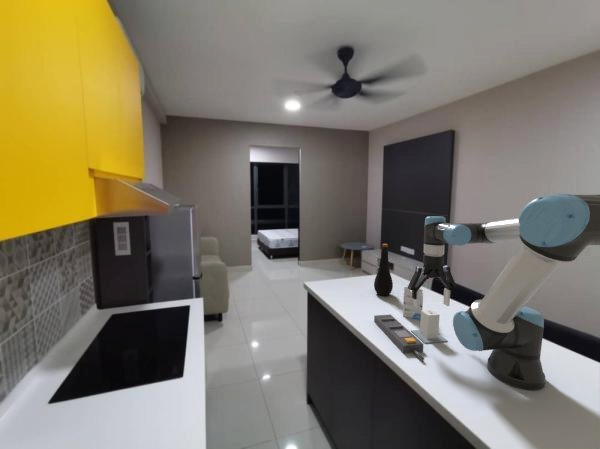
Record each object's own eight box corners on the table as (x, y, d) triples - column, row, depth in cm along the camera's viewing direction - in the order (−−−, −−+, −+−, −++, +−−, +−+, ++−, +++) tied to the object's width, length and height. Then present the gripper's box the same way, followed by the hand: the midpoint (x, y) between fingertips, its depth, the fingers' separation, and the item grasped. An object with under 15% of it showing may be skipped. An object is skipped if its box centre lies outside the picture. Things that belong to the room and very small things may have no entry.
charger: (438, 338, 115) (439, 313, 114) (426, 338, 114) (428, 314, 113) (430, 332, 120) (432, 308, 119) (419, 332, 119) (421, 309, 118)
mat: (447, 341, 113) (447, 340, 113) (424, 343, 111) (424, 342, 111) (432, 329, 123) (432, 328, 123) (411, 331, 121) (411, 330, 121)
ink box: (422, 316, 136) (424, 286, 135) (421, 320, 132) (423, 289, 130) (403, 312, 140) (405, 283, 139) (402, 316, 136) (403, 286, 134)
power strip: (432, 360, 100) (433, 350, 99) (412, 362, 98) (412, 352, 98) (390, 320, 131) (390, 312, 131) (374, 321, 130) (374, 313, 129)
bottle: (369, 292, 168) (371, 243, 165) (383, 290, 172) (385, 242, 169) (382, 298, 158) (384, 246, 155) (396, 296, 163) (398, 245, 160)
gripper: (454, 252, 119) (452, 300, 121) (400, 253, 115) (398, 304, 117) (468, 255, 111) (465, 307, 113) (409, 257, 107) (407, 311, 109)
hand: (431, 305), depth 115 cm, fingers open, 13 cm apart
